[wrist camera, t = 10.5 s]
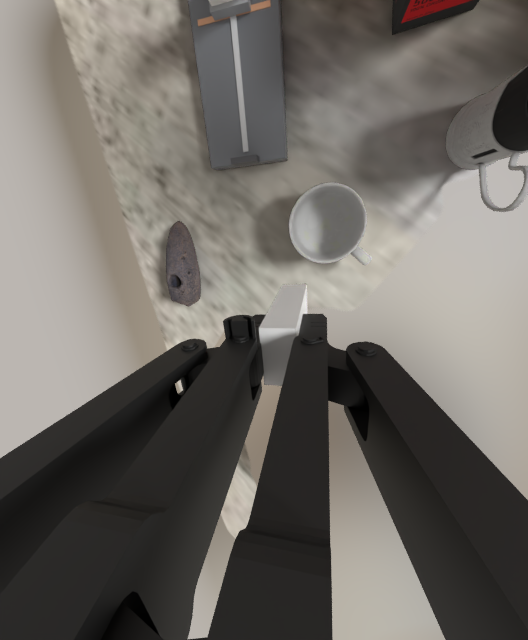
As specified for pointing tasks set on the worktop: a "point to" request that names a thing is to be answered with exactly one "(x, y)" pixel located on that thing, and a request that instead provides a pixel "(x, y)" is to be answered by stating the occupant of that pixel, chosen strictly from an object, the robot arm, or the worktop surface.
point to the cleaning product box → (425, 12)
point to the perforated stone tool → (182, 266)
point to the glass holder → (493, 133)
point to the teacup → (329, 224)
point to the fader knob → (228, 8)
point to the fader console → (241, 83)
